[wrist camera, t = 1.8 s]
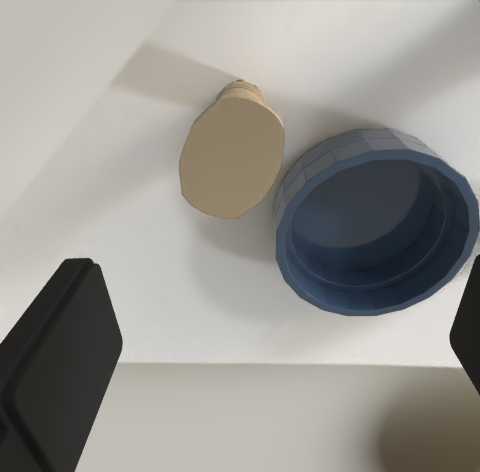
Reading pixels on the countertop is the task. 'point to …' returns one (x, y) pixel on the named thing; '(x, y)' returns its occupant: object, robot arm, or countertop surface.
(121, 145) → the countertop surface
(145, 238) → the countertop surface
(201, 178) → the handle
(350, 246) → the bowl
